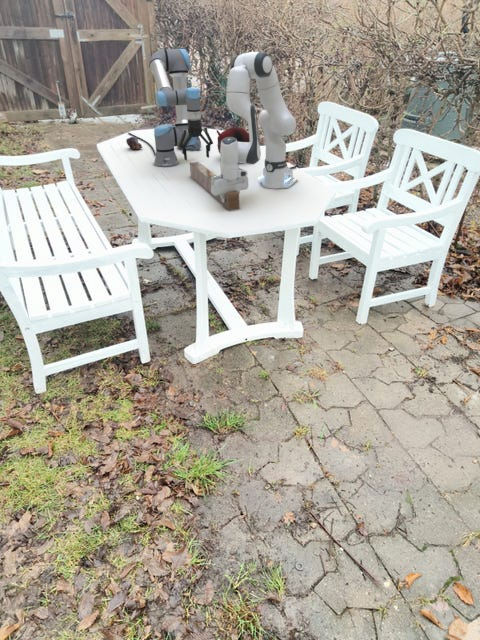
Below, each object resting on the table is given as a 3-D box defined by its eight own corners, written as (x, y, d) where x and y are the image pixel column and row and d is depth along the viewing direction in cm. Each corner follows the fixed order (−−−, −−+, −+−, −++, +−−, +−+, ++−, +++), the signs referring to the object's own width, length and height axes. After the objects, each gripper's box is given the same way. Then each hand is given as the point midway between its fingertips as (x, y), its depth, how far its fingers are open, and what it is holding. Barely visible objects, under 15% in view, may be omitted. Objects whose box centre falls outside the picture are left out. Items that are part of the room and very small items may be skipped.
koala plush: (201, 150, 321) (199, 121, 310) (176, 151, 320) (173, 121, 309) (201, 144, 335) (199, 116, 324) (177, 145, 334) (174, 117, 323)
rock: (139, 148, 333) (125, 149, 329) (137, 135, 329) (123, 137, 325) (143, 149, 323) (130, 150, 319) (141, 136, 320) (128, 137, 316)
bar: (190, 176, 271) (189, 162, 266) (199, 175, 273) (198, 161, 268) (229, 210, 224) (229, 194, 220) (239, 208, 226) (239, 192, 222)
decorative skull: (214, 133, 304) (214, 130, 280) (248, 125, 303) (250, 121, 280) (221, 165, 311) (221, 165, 287) (254, 158, 310) (257, 157, 286)
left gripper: (174, 122, 242) (178, 162, 254) (217, 118, 250) (219, 157, 262) (170, 119, 248) (174, 159, 260) (213, 116, 256) (214, 154, 268)
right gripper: (214, 178, 213) (215, 206, 221) (250, 171, 222) (250, 198, 230) (208, 175, 218) (209, 202, 225) (243, 168, 227) (243, 195, 235)
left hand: (196, 158), depth 261 cm, fingers open, 13 cm apart
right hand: (230, 200), depth 228 cm, fingers closed on bar, 6 cm apart
